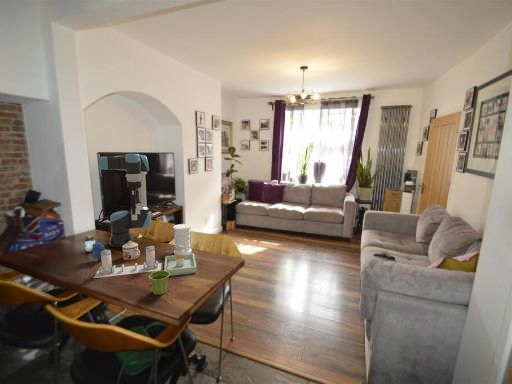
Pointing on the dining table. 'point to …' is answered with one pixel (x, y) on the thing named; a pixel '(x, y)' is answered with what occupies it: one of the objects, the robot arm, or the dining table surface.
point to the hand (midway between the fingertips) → (136, 216)
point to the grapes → (97, 250)
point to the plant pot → (159, 281)
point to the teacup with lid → (130, 251)
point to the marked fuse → (179, 255)
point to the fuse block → (109, 271)
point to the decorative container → (182, 237)
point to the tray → (186, 269)
